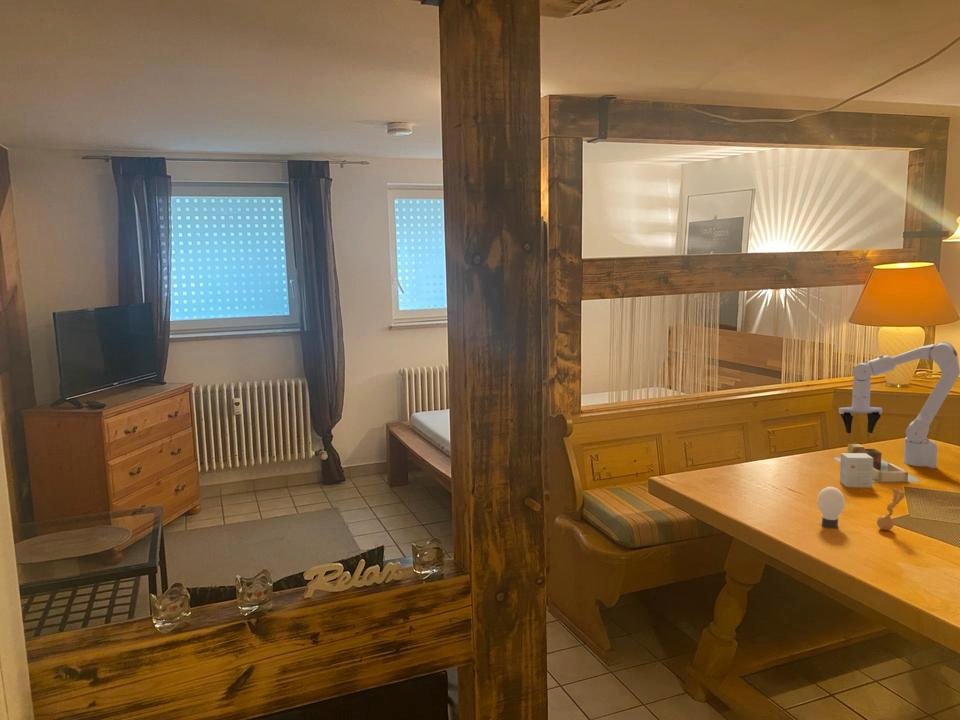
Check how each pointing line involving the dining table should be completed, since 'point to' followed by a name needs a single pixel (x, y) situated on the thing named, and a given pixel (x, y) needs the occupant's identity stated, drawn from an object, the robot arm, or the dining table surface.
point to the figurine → (890, 511)
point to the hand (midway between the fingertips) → (859, 432)
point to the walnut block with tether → (871, 452)
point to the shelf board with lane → (890, 473)
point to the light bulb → (830, 506)
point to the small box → (856, 470)
